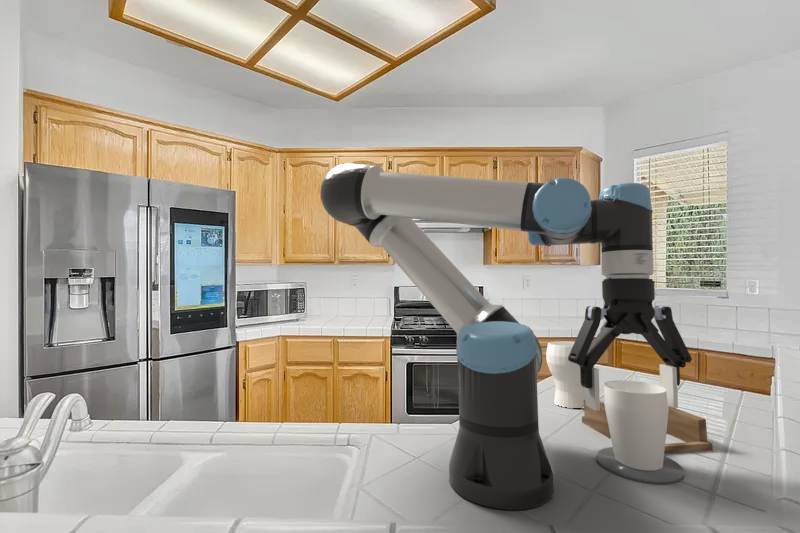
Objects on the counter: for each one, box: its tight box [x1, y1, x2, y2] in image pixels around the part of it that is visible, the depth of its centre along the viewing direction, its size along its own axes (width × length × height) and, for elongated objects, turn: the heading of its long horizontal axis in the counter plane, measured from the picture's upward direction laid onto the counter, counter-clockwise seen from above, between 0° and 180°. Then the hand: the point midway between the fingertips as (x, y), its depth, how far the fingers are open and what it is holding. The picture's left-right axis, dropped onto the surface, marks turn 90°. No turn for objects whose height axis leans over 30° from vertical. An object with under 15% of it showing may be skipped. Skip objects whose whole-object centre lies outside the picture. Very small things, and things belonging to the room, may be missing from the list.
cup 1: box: [545, 340, 585, 409], centre depth 96 cm, size 11×11×15 cm
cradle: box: [581, 400, 714, 455], centre depth 75 cm, size 14×17×5 cm
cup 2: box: [603, 380, 669, 471], centre depth 62 cm, size 9×9×12 cm
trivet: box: [596, 446, 685, 485], centre depth 62 cm, size 12×12×1 cm
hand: (631, 407), depth 63 cm, fingers open, 13 cm apart
